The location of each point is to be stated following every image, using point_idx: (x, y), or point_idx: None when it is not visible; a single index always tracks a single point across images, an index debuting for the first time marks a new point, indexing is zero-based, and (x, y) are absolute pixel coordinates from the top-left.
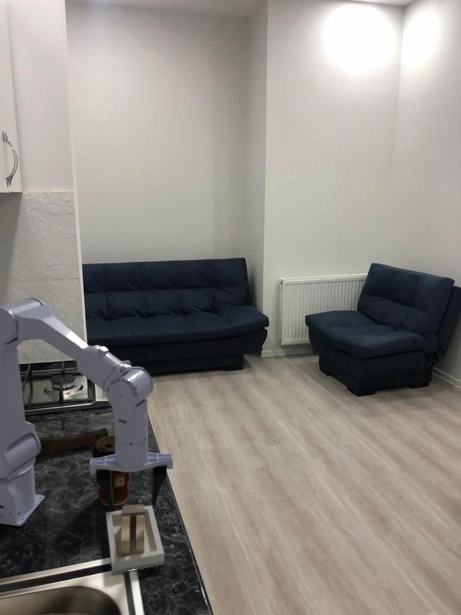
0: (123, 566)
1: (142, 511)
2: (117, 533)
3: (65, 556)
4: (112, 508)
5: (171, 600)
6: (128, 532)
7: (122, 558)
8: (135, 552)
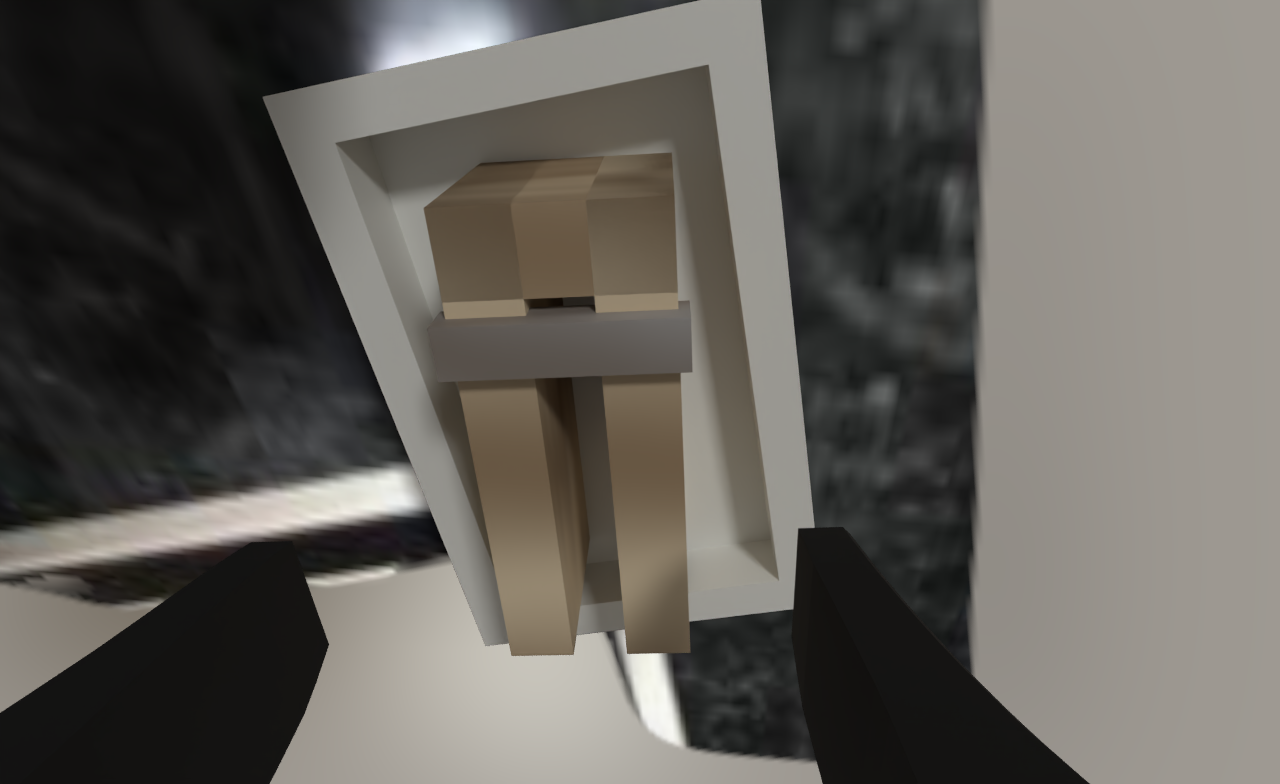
0: None
1: (663, 364)
2: None
3: (160, 429)
4: (323, 651)
5: None
6: (554, 581)
7: None
8: None
